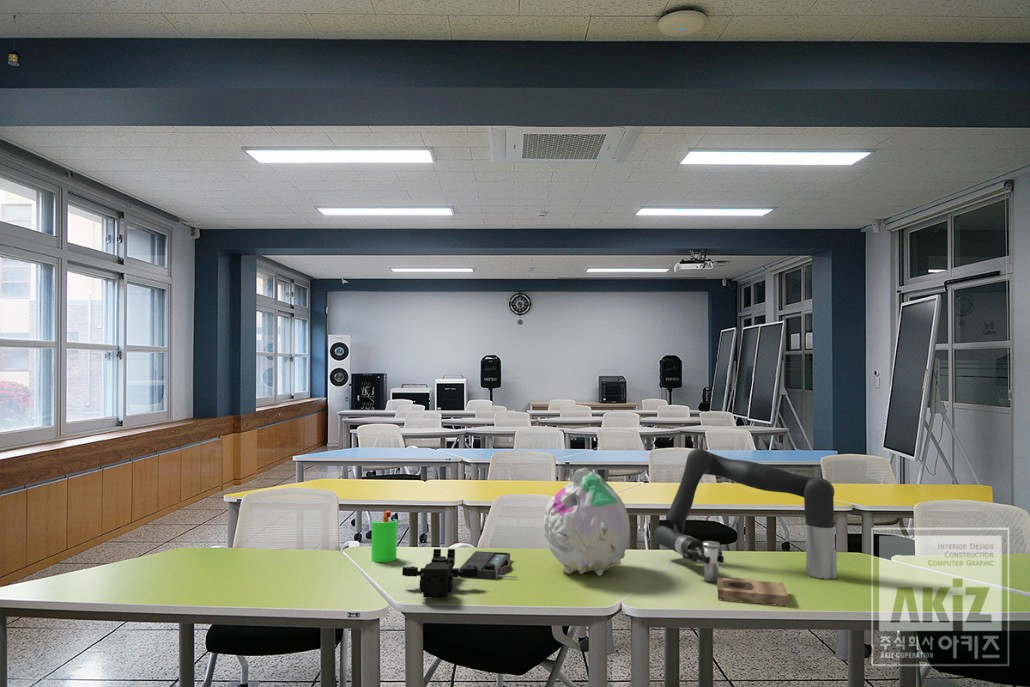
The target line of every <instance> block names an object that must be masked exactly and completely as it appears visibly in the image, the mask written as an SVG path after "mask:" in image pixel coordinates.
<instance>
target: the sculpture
mask: <svg viewBox="0 0 1030 687" xmlns="http://www.w3.org/2000/svg"><path fill="white" fill-rule="evenodd" d="M543 529H544V530H543V532H544V536H545V538H546V539H547V545H548V547H549V549H550V551H551V553H552V555H553V556H554V558H556V560H557V561H558V562H559V563H560V564H561V565H563V566H564V568H563V571H564V573H566V574H568V575H571V574H573V572H575V571H578V575H581V574H584V573H587V572H591V571H594V572H595V574H596V575H597V576H599V577H601V576H602V575H603V572H605V571H608V569H611V568H612V567H616V566H619V565H621V563H622V561H621V559H624V558H625V557H626V556H625V554H626V553H625V552H626V550H627V547H628V546H629V545H628V544H629V541H630V537H631V536H630V535H631V524H630V519H629V514H628V512H627V508H626V504H625V503H624V502H623V500H622V499H621V497H620V496H619V495H618V493H616V491H615V490H614V488H613V487H611V486H610V485H609V483H607V481H606V480H605V479H604V478H603V477H602V476H601V475H600V474H598V473H595V472H593V471H590V470H589V469H588V468H587V467H583V468H578V469H576V471H575V472H574V474H573V476H572V477H571V479H570V482H569V483H568V484H567V485H565V486H563V487H562V488H561V489H559V491H558V492H556V494H555V495H554V496H553V497H552V498H551V499H550V500H549V501H548V503H547V505H546V507H545V511H544V517H543Z"/></svg>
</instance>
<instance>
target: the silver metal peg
mask: <svg viewBox="0 0 1030 687" xmlns="http://www.w3.org/2000/svg"><path fill="white" fill-rule="evenodd" d="M702 543H703V546H704V555H706V556H708V557H709V564H706V563H704V562H703V567H704V568H703V574H704V576H703V577H704V580H705V581H708V582H717V577H718V578H720V577H719V574H720V573H719V562H718V549H719V548H720V543H719V542H718V541H712V540H704V541H702Z"/></svg>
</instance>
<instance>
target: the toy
mask: <svg viewBox="0 0 1030 687" xmlns="http://www.w3.org/2000/svg"><path fill="white" fill-rule="evenodd" d="M455 564H456V549H455V548H448V549H447V553H446V556H443V555H442V549H441V548H433V553H432V558H431V562H429V563H426V564H425V566H424V567H420V570H419V567H418V566H403V567H402V571H401V572H402V574H401V575H402V577H403V576H404V577H413V578H414V577H419V579H420V580H419V592H420V593H422V598H427V599H429V598H430V599H440V598H442V599H446V598H448V597H449V594H450V593H453V590H454V587H453V586H454V578H458V579H459V578H460V577H459V576H462V577H461V578H467V577H474V576H478V568H471V567H467V568H463V569H462V571H459V568H460V567H456V568H455V567H454V566H455Z"/></svg>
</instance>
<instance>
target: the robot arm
mask: <svg viewBox="0 0 1030 687" xmlns="http://www.w3.org/2000/svg"><path fill="white" fill-rule="evenodd" d="M704 475H708V476H716V477H721V478H725V479H728V480H731V481H733V482H735V483H737V484H740V485H743V486H746V487H750V488H752V489H757V490H760V491H763V492H764V491H765V492H772V493H774V492H775V493H782V494H783V493H784V494H791V495H796V496H798V497H801V498H803V499H804V500H803V501H804V505H803V506H804V518H805V557H806V558H805V561H806V562H805V564H806V565H805V566H806V567H805V568H806V575H807V576H809V577H811V576H812V578H815V577H816V579H821V578H824V579H825V580H831V579H830V578H833V579H835V578H838V569H837V568H838V567H837V566H838V565H837V563H838V562H837V561H838V560H837V550H836V539H835V538H836V536H835V535H836V534H835V530H836V529H835V525H836V524H835V511H834V510H835V509H834V508H835V507H834V496H835V488H834V486H833V484H832V483H831V482H830V481H829V480H827V479H825V478H822V477H815V476H809V475H808V476H807V475H801V474H796V473H793V472H789V471H786V470H784V469H781V468H777V467H773V466H771V465H767V464H763V463H759V462H754V461H750V460H744V459H743V460H740V459H731V458H727V457H723V456H721V455H717V454H715V453H712V452H710V451H707V450H705V449H703V448H694V449H692V450H691V451H690V452H689V453H688V454H687V458H686V462H685V466H684V470H683V474H682V477H681V481H680V484H679V486H678V489H677V491H676V493H675V496H674V498H673V501H672V502H671V505H670V509H669V510H668V512H667V515H666V517H667V520H668V521H669V522H671V523H672V524H673V528H670V527H668V526H666V525H660V526H658V527H657V528H656V529H655V530H654V533H653V538H654V540H655V542H656V544H659V545H661V546H662V547H663V546H664V547H666V548H668V549H670V550H672V551H674V552H675V553H677V554H679V555H680V556H681V557H682V558H683V559H685V560H688V561H691V562H696V563H697V562H703V564H704V563H706V564H709V557H708V556H706V555H704V546H703V541H701V540H699V539H697V538H695V537H693V536H691V535H686V534H684V532H685V526H686V522H687V520H688V517H689V514H690V512H691V509H692V506H693V503H694V499H695V494H696V492H697V489H698V485H699V483H700V481H701V479H702V477H703V476H704ZM724 562H725V556H723V551H722V550H721V549H720V548H718V563H719V564H720V563H721V564H723V563H724Z"/></svg>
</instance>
